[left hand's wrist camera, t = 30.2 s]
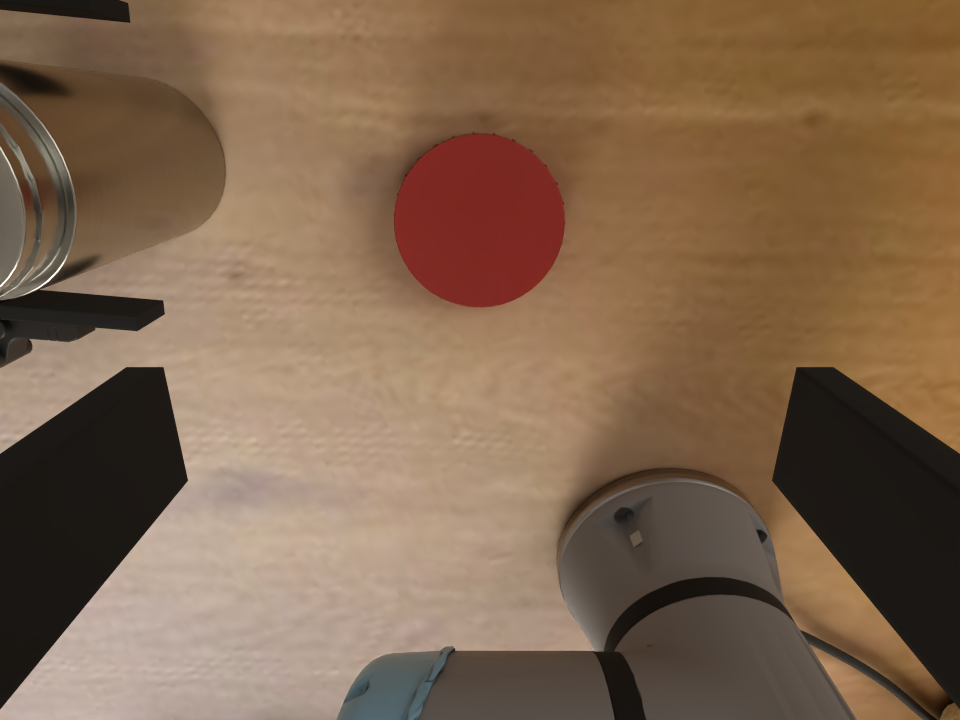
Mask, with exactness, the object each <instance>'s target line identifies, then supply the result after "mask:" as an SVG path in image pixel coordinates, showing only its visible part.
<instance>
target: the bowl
mask: <svg viewBox="0 0 960 720" xmlns="http://www.w3.org/2000/svg"><path fill="white" fill-rule="evenodd" d="M939 720H960V709H959V708H958V707H957V705H956V704H955V703H954V702H953V703H952V704H949V705H948V706H947V707H946V708H945V709H944V711H943V712H942V715H941V717H940V719H939Z"/></svg>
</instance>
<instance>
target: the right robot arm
mask: <svg viewBox="0 0 960 720" xmlns="http://www.w3.org/2000/svg"><path fill="white" fill-rule="evenodd" d="M0 10H10V11H20V12H30V13H40V14H50V15H59V16H69V17H79V18H89V19H99V20H109V21H119V22H129V23H130V16H129V7H128V3H126V2H123V1H120V0H0ZM164 314H165V312H164V304H163V301H162V300H150V299H139V298H127V297H115V296H104V295H92V294H80V293H69V292H57V291H45V290H37V291H35V292H32V293H29V294H27V295H23V296H20V297H17V298H12V299H6V300H0V368H1V367H3V366H5V365H7V364H9V363H11V362H13V361H15V360H17V359H19V358H20V357H22V356H24V355H26V354H28V353H30V352H31V350H32V343H31V341H30V340H29V339H39V340H51V341H63V342H70V341H74V340H77V339H79V338H81V337H83V336H85V335H87V334H89V333H90V332H92V331H94V330H95V328H107V329H119V330H131V331H138V330H140V329H141V328H143V327H145V326H146V325H148V324H150V323H151V322H153V321H154V320H156V319H158V318H159V317H161V316H163V315H164Z"/></svg>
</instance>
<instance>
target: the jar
mask: <svg viewBox="0 0 960 720" xmlns="http://www.w3.org/2000/svg"><path fill="white" fill-rule="evenodd" d="M225 175H226V174H225V161H224V156H223V151H222V148H221V145H220V142H219V140H218V137H217V135H216V133H215V131H214V129H213V127H212V126H211V124H210V122H209V121H208V120H207V118H206V117H205V115H204V114H203V113H202V112H201V111H200V110H199V108H198V107H197V106H196V105H195V104H194V103H193V102H192V101H190V100H189V99H188V98H187V97H186V96H184V95H183V94H181V93H180V92H179V91H177V90H175V89H174V88H172V87H170V86H168V85H166V84H163V83H161V82H158V81H156V80H152V79H148V78H142V77H134V76H126V75H118V74H110V73H102V72H94V71H86V70H78V69H70V68H62V67H54V66H46V65H38V64H30V63H22V62H14V61H6V60H0V300H6V299H12V298H17V297H20V296H23V295H27V294H29V293H32V292H35V291H37V290H40V289H42V288H45V287H48V286H50V285H53V284H55V283H58V282H61V281H63V280H66V279H68V278H71V277H73V276H76V275H79V274H81V273H84V272H86V271H89V270H92V269H94V268H97V267H99V266H102V265H105V264H107V263H110V262H112V261H115V260H118V259H120V258H123V257H125V256H128V255H131V254H133V253H136V252H138V251H141V250H144V249H146V248H149V247H151V246H154V245H157V244H159V243H162V242H164V241H167V240H169V239H172V238H175V237H177V236H180V235H182V234H185V233H188V232H190V231H192V230H194V229H196V228H197V227H199V226H200V225H202V224H203V223H204V222H205V221H206V220H207V219H209V218H210V216H211V215H212V214H213V212H214V211H215V210H216V208H217V206H218V204H219V202H220V200H221V197H222V194H223V190H224V186H225Z"/></svg>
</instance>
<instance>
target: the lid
mask: <svg viewBox="0 0 960 720" xmlns="http://www.w3.org/2000/svg"><path fill="white" fill-rule="evenodd" d="M433 147H434V148H433V149H431V150H430V151H429V152H427V153H426V154H425V155H423V156H421V157H420V158H418V159H417V160H418V161H417V163H416V164H415V165H414V166H413V167H412V169H411V170H410V171H409V173H408V174H406V175H405V177H406V178H405V180H404V182H403V183H402V186H401V188H400V191H399V193H398V194H397V196H398V197H397V201H396V205H395V213H394V229H395V236H396V241H397V245H398V248H399V251H400V253H401V256H402V258H403V260H404V262H405V264H406V265H407V267H408V269H409V270H410V272H411V273H412V274H413V276H414V277H415V278H416V279H417V280H418V281H419V282H420V283H421V284H422V285H423V286H424V287H425V288H426V289H428V290H429V291H430V292H432V293H433V294H435V295H437V296H438V297H440V298H442V299H444V300H447V301H449V302H451V303H455V304H458V305H462V306H469V307H491V306H496V305H501V304H504V303H507V302H510V301H513V300H515V299H517V298H519V297H521V296H523V295H524V294H525V293H527V292H528V291H530V290H531V289H532V288H534V287H535V286H536V285H537V284H538V283H539V282H540V281H541V280H542V279H543V278H544V277H545V275H546V274H547V273H548V271H549V270H550V268H551V267H552V265H553V264H554V262H555V260H556V258H557V256H558V253H559V250H560V247H561V245H562V240H563V235H564V226H565V217H564V207H563V204H564V203H563V201H562V198H561V194H560V191H559V188H558V186H557V185H558V184H557V182H555V180H554V178H553V176H552V175H551V173H550V172H549V170H548V169H547V165H545V164H544V163H542V162H541V160H540V159H538V158H537V157H536V156H535V155H534V154H533V151H532V150H530V149H529V150H527V149H526V148H524V147H523V146H521V145H520V144H518V143H516V142H515V140H514V139H512V140H510V139H507V138H504V137H501V136H497V135H495V133H493V135H491V134H478V133H476V134H475V132H473V134H467V135H462V136H458V137H455V136H453V137H452V139H449V140H447V141H445V142H443V143H441V144H439V145H437V144H436V145H434V146H433Z"/></svg>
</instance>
